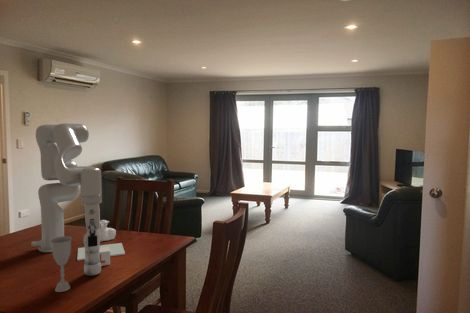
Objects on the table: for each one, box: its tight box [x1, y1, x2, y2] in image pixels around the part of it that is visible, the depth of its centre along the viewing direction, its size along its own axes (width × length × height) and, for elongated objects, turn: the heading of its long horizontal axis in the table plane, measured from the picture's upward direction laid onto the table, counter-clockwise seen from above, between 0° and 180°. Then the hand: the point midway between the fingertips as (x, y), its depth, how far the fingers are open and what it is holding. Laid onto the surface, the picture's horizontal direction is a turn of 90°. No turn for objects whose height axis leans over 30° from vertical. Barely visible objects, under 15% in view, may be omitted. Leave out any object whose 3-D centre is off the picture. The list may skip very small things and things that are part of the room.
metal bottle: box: [82, 226, 102, 277], centre depth 131 cm, size 6×7×20 cm
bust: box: [97, 219, 117, 243], centre depth 175 cm, size 12×8×11 cm
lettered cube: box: [99, 247, 111, 267], centre depth 143 cm, size 6×6×6 cm
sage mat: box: [76, 242, 126, 262], centre depth 157 cm, size 20×16×1 cm
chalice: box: [51, 235, 73, 293], centre depth 119 cm, size 7×7×18 cm
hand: (92, 242), depth 131 cm, fingers open, 9 cm apart
